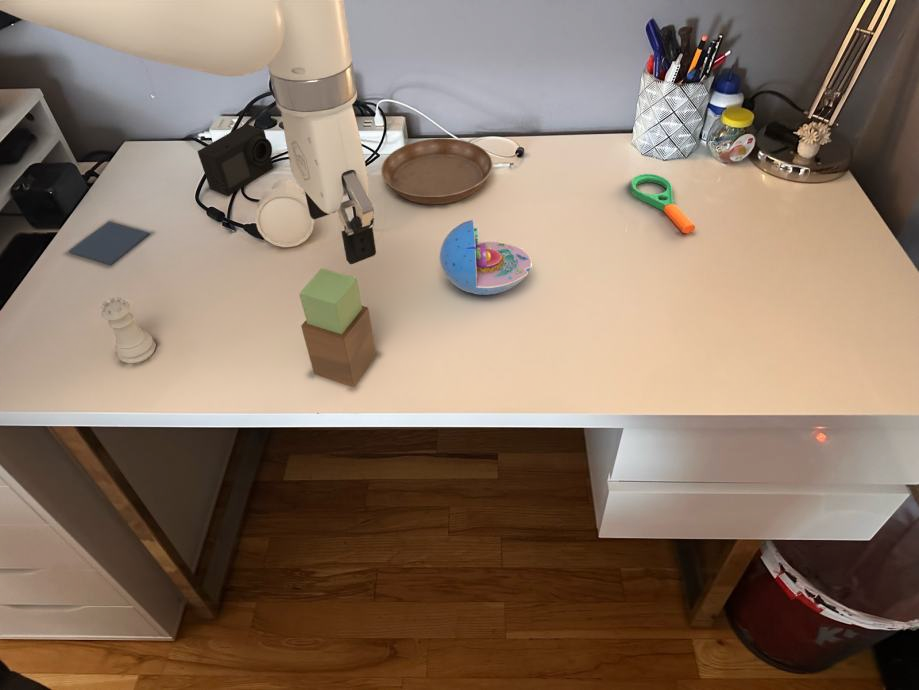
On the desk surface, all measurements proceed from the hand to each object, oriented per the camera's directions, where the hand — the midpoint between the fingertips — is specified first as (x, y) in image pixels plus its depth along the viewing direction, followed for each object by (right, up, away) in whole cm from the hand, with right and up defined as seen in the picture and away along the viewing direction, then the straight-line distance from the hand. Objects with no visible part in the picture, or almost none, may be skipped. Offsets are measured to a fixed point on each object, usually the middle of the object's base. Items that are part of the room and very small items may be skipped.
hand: (342, 235), depth 74 cm
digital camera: (-22, +15, +37) cm, 46 cm away
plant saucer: (+9, +14, +35) cm, 39 cm away
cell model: (+16, -4, +16) cm, 24 cm away
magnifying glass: (+44, +9, +28) cm, 53 cm away
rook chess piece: (-27, -13, +9) cm, 31 cm away
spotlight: (-12, +5, +27) cm, 30 cm away
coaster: (-39, +3, +25) cm, 46 cm away
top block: (-1, -9, +1) cm, 9 cm away
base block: (-1, -15, +7) cm, 16 cm away
